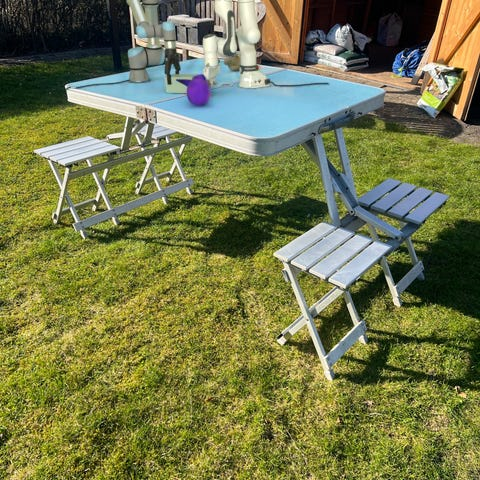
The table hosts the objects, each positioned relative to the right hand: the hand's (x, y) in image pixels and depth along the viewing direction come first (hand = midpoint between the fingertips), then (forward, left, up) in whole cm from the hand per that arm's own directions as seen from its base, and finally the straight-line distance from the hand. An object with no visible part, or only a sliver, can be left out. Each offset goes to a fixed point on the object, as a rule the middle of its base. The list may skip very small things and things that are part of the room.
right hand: (212, 84), depth 295 cm
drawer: (+8, -6, -4) cm, 11 cm away
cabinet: (+17, -13, -6) cm, 22 cm away
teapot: (-40, -74, -6) cm, 84 cm away
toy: (+17, +22, -6) cm, 28 cm away
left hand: (+22, -18, 0) cm, 29 cm away
